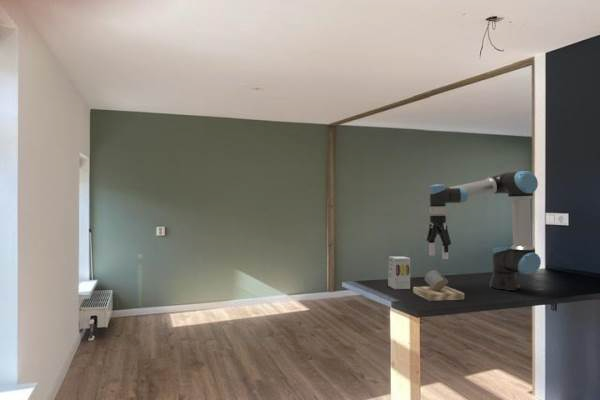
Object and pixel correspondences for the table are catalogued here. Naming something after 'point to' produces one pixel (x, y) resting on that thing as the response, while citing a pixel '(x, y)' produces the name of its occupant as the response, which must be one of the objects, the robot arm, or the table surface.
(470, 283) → the table surface
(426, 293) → the square wooden tile
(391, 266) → the supplement box
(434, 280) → the ceramic mug
